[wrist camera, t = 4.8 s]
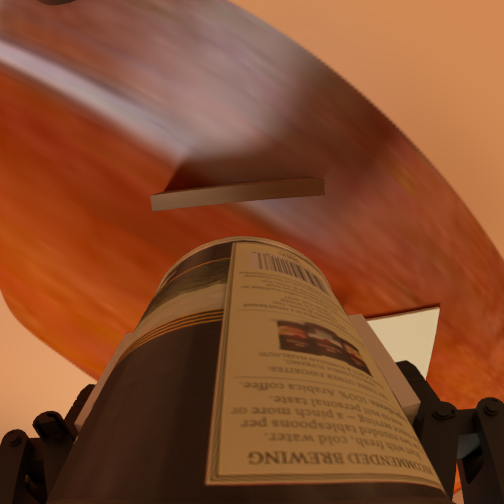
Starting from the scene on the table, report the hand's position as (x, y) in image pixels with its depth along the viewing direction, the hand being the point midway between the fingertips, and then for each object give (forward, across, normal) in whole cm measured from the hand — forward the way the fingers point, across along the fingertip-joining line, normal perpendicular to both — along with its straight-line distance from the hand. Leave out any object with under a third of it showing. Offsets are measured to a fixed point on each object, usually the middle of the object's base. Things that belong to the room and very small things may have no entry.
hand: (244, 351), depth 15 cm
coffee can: (+3, 0, 0) cm, 3 cm away
